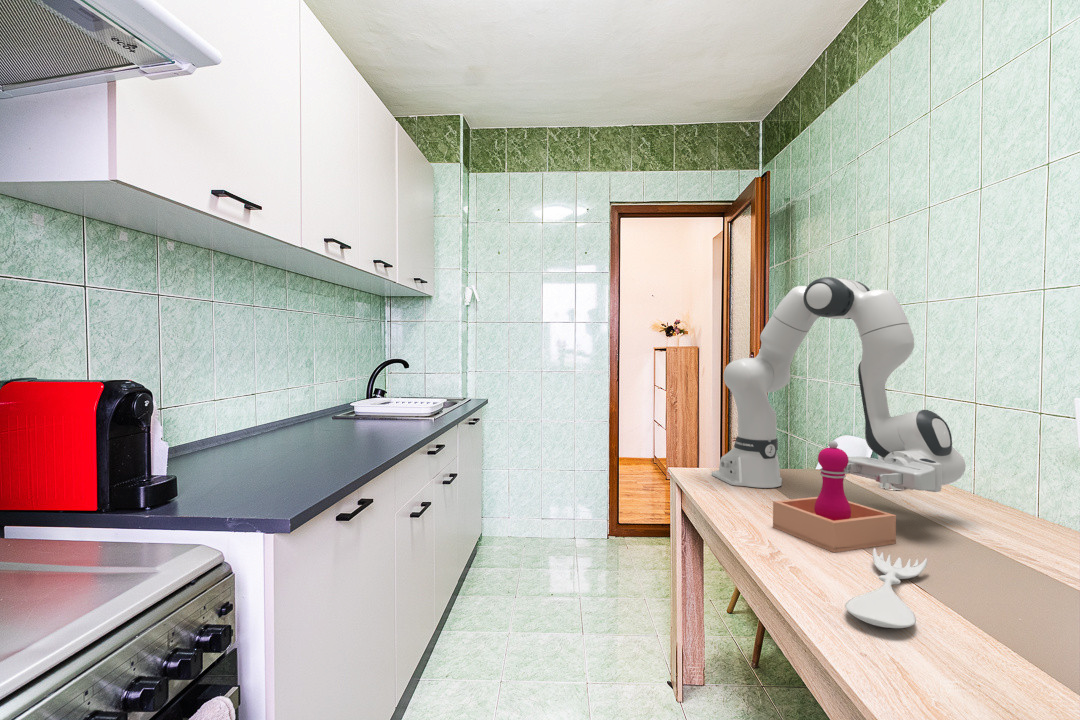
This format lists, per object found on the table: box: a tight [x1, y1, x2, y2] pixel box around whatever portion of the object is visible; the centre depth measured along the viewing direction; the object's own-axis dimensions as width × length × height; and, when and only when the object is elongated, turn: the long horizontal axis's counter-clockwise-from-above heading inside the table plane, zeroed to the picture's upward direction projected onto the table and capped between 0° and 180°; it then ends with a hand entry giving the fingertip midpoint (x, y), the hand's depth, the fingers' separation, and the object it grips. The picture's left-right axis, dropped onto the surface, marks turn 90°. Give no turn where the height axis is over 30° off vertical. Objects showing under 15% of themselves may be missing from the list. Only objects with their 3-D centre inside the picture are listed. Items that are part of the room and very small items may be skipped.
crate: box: [772, 496, 897, 553], centre depth 121 cm, size 17×17×6 cm
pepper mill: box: [814, 440, 851, 521], centre depth 121 cm, size 7×7×20 cm
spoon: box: [844, 547, 928, 629], centre depth 90 cm, size 9×32×4 cm, turn 141°
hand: (859, 473), depth 123 cm, fingers open, 8 cm apart
